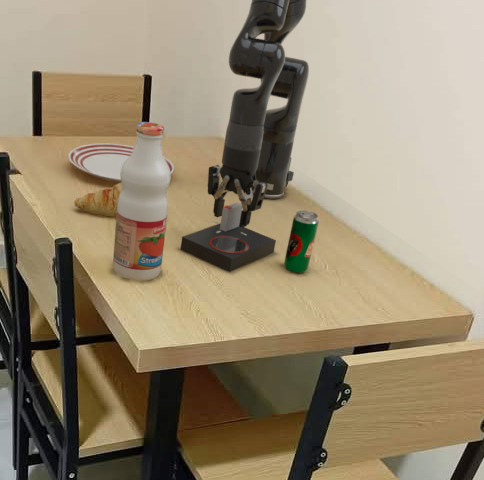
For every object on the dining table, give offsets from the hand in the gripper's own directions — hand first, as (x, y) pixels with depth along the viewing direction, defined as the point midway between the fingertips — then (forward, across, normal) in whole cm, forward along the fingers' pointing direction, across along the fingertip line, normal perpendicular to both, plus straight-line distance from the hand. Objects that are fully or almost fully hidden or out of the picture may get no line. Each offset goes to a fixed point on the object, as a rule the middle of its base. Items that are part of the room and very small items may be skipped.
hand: (230, 221), depth 159 cm
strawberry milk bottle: (+5, +2, +28) cm, 28 cm away
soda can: (+5, -18, 0) cm, 18 cm away
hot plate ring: (+2, -6, +8) cm, 9 cm away
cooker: (+5, -4, +4) cm, 7 cm away
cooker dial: (+2, 0, 0) cm, 2 cm away
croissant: (+5, +26, +8) cm, 27 cm away
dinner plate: (+5, +44, -12) cm, 46 cm away
